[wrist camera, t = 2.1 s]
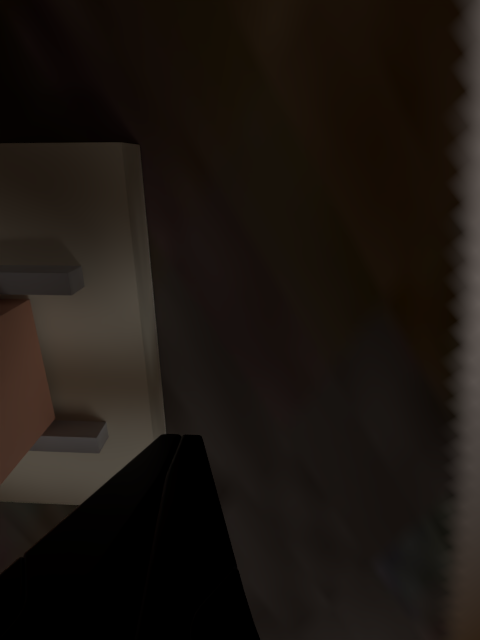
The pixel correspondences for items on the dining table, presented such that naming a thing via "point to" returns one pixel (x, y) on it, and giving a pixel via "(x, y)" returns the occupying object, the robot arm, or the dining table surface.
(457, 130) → the dining table surface
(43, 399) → the terracotta cardboard box
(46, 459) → the track board
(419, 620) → the dining table surface
